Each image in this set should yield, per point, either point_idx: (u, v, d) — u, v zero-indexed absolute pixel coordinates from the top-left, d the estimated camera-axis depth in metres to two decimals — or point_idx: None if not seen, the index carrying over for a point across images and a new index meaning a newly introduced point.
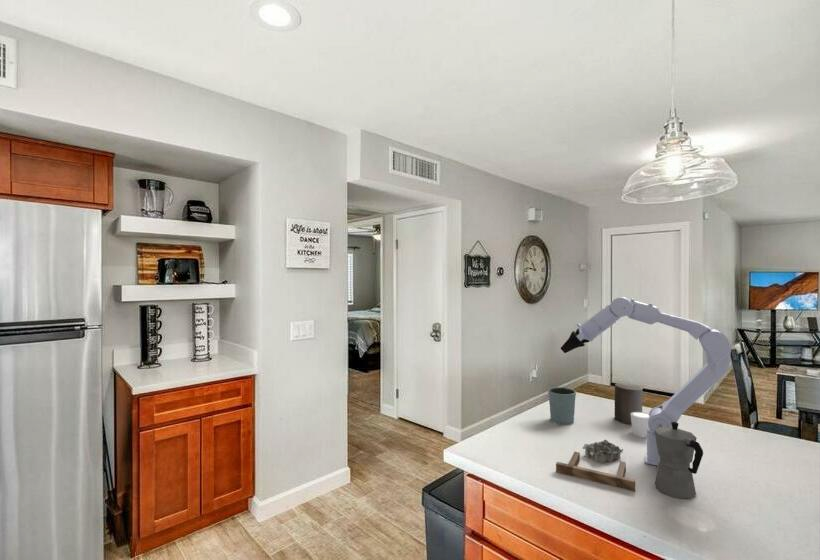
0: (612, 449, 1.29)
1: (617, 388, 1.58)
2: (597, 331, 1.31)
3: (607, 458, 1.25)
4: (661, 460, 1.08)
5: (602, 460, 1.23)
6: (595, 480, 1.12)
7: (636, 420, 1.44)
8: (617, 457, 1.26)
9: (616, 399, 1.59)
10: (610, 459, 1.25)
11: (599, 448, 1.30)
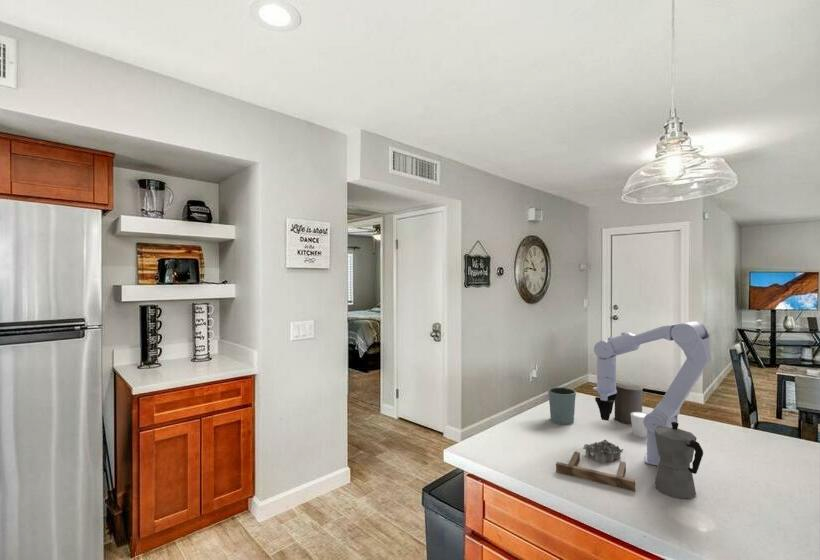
0: (612, 449, 1.29)
1: (617, 388, 1.58)
2: (611, 382, 1.34)
3: (607, 458, 1.25)
4: (661, 460, 1.08)
5: (603, 460, 1.23)
6: (595, 480, 1.12)
7: (636, 420, 1.44)
8: (617, 457, 1.26)
9: (616, 399, 1.59)
10: (610, 459, 1.25)
11: (599, 448, 1.30)
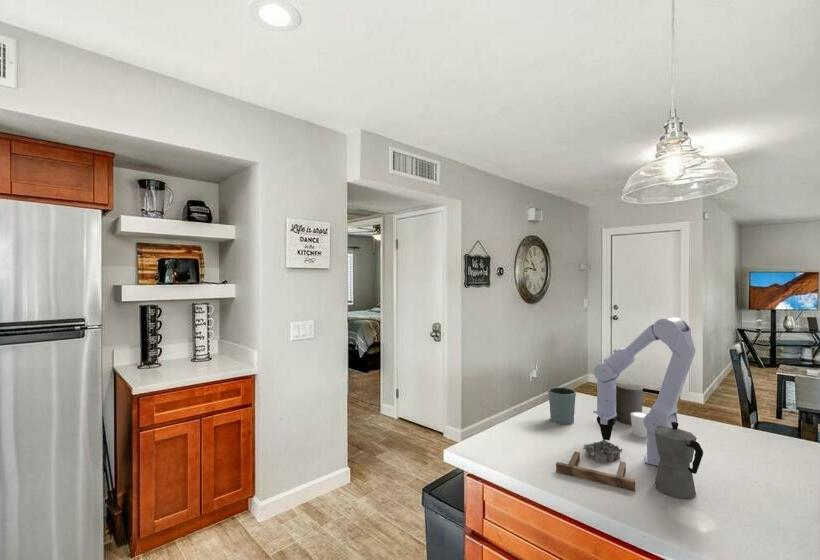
0: (611, 449, 1.29)
1: (617, 388, 1.58)
2: (611, 405, 1.34)
3: (607, 458, 1.25)
4: (661, 460, 1.08)
5: (603, 460, 1.23)
6: (595, 480, 1.12)
7: (636, 420, 1.44)
8: (617, 457, 1.26)
9: (616, 399, 1.59)
10: (610, 459, 1.25)
11: (598, 448, 1.30)
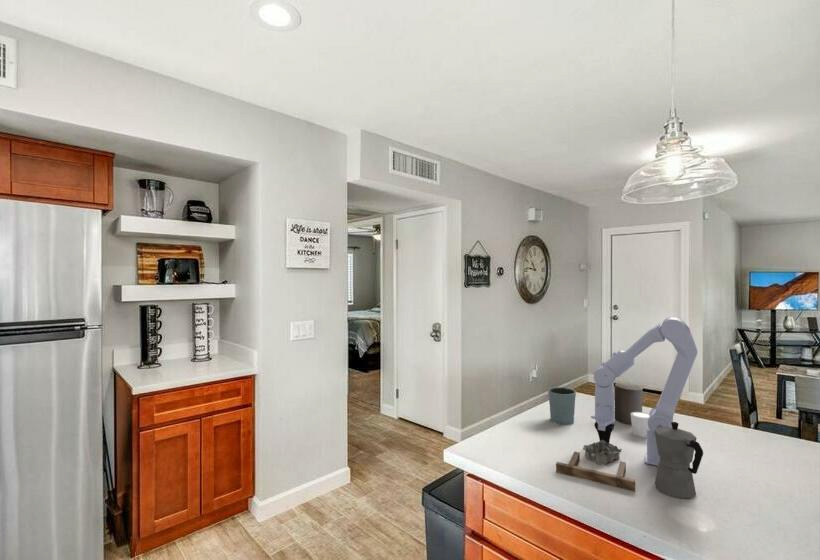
0: (610, 449, 1.29)
1: (617, 388, 1.58)
2: (609, 410, 1.29)
3: (607, 458, 1.24)
4: (661, 460, 1.08)
5: (604, 461, 1.22)
6: (595, 480, 1.12)
7: (636, 420, 1.44)
8: (616, 457, 1.26)
9: (616, 399, 1.59)
10: (610, 459, 1.24)
11: (597, 448, 1.29)
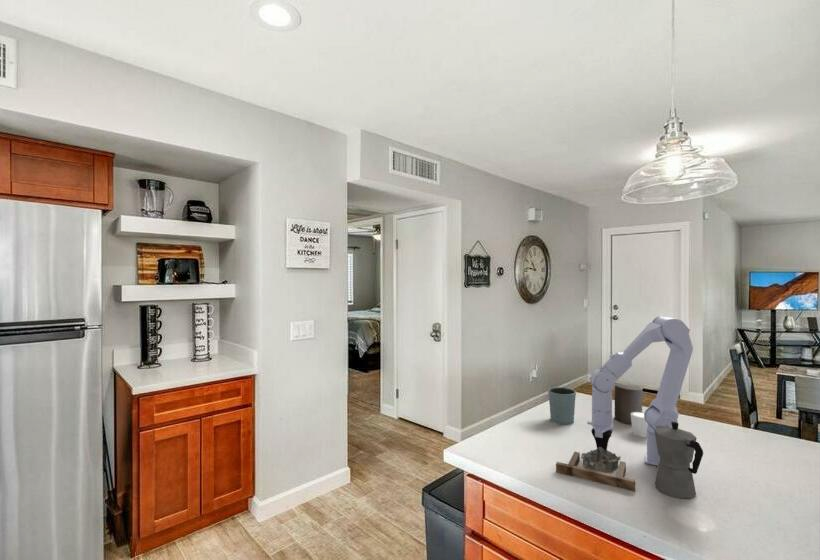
0: (609, 457, 1.23)
1: (617, 388, 1.58)
2: (607, 416, 1.24)
3: (607, 467, 1.18)
4: (661, 460, 1.08)
5: (603, 470, 1.16)
6: (595, 480, 1.12)
7: (636, 420, 1.44)
8: (615, 465, 1.20)
9: (616, 399, 1.59)
10: (610, 468, 1.18)
11: (595, 456, 1.24)
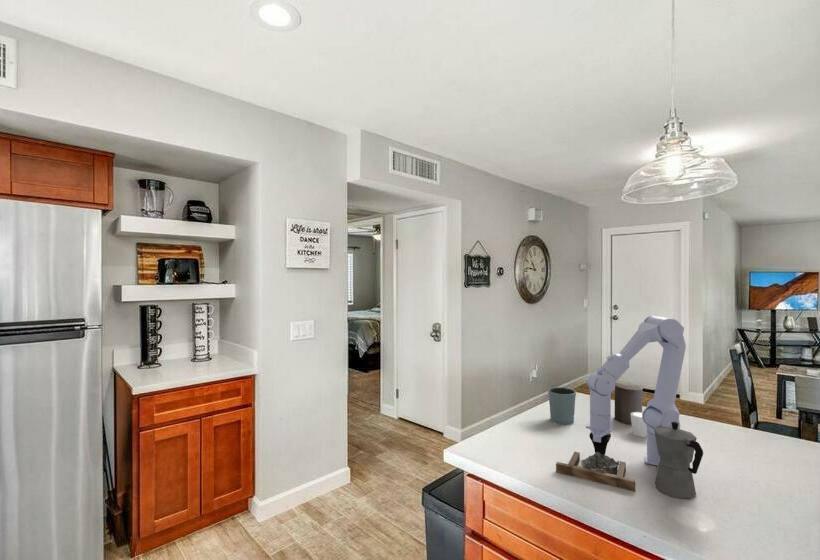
0: (607, 462, 1.20)
1: (617, 388, 1.58)
2: (605, 420, 1.21)
3: None
4: (661, 460, 1.08)
5: None
6: (595, 480, 1.12)
7: (636, 420, 1.44)
8: (615, 470, 1.17)
9: (616, 399, 1.59)
10: None
11: (594, 462, 1.20)
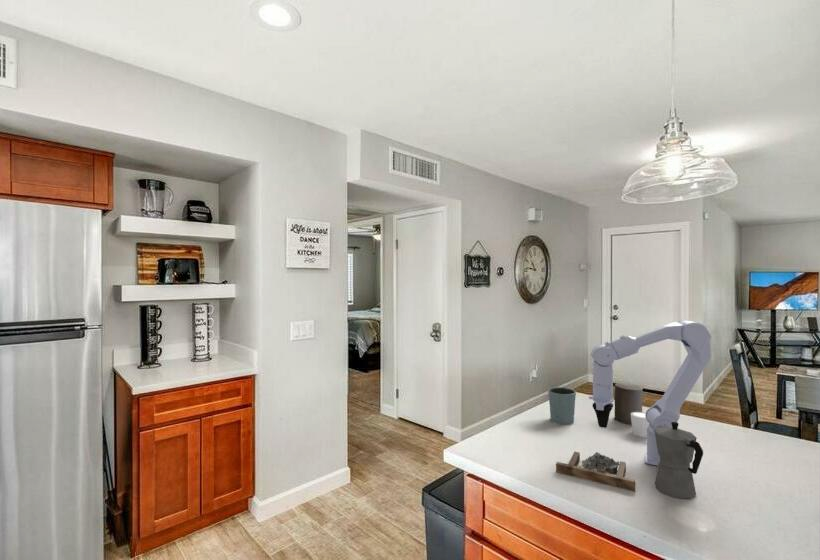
0: (607, 462, 1.20)
1: (617, 388, 1.58)
2: (608, 390, 1.26)
3: None
4: (661, 460, 1.08)
5: None
6: (595, 480, 1.12)
7: (636, 420, 1.44)
8: (615, 471, 1.17)
9: (616, 399, 1.59)
10: None
11: (594, 463, 1.20)
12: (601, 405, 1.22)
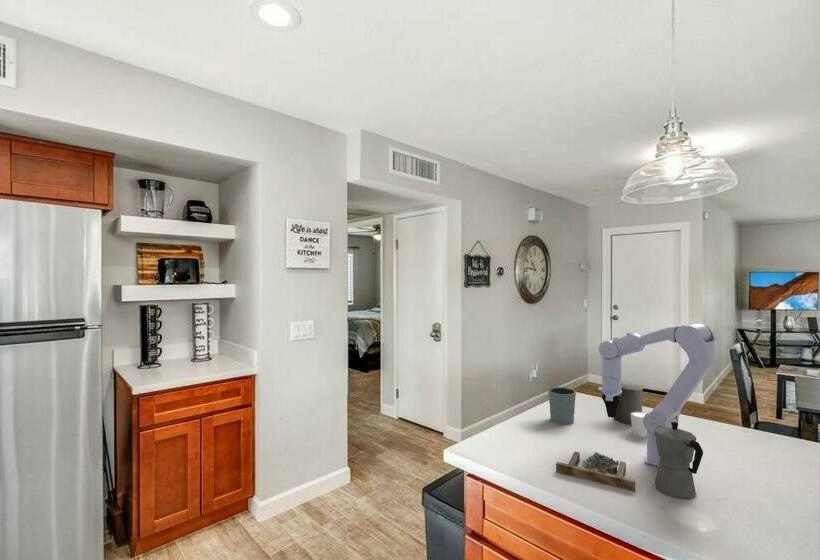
0: (606, 462, 1.20)
1: None
2: (616, 382, 1.33)
3: None
4: (661, 460, 1.08)
5: None
6: (595, 480, 1.12)
7: (636, 420, 1.44)
8: (615, 471, 1.17)
9: None
10: None
11: (594, 463, 1.20)
12: (610, 396, 1.30)
